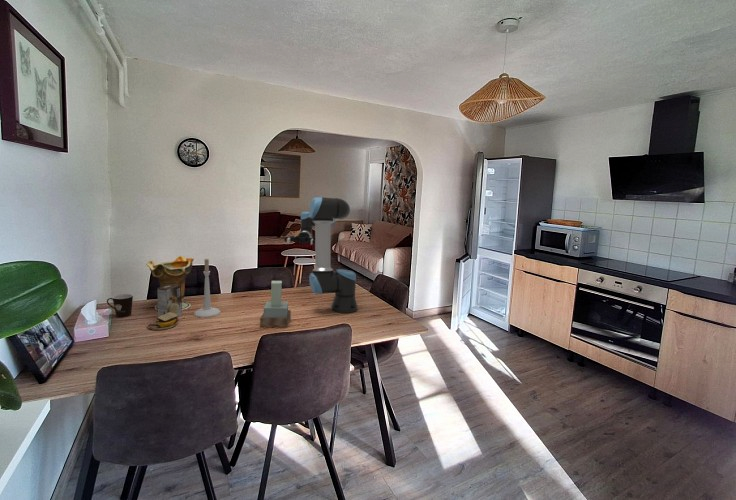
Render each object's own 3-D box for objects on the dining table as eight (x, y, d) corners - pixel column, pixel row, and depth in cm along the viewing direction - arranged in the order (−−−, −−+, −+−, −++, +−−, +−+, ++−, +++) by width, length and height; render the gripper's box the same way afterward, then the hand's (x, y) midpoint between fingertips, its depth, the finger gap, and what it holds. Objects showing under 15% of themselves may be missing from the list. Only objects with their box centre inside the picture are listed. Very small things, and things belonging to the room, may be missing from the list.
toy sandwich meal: (142, 326, 171) (142, 316, 171) (172, 319, 182) (172, 310, 181) (153, 333, 164) (153, 323, 163) (184, 326, 174) (183, 316, 174)
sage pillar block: (281, 303, 186) (281, 280, 184) (281, 306, 181) (281, 283, 179) (271, 303, 185) (271, 280, 183) (270, 306, 180) (271, 283, 178)
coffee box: (172, 313, 189) (172, 283, 187) (182, 315, 187) (181, 285, 185) (157, 318, 181) (156, 287, 178) (167, 320, 179) (166, 289, 176)
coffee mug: (137, 314, 185) (136, 295, 183) (120, 319, 177) (119, 299, 175) (123, 310, 190) (122, 292, 188) (105, 314, 182) (104, 295, 180)
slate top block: (288, 310, 190) (288, 301, 189) (286, 318, 179) (286, 308, 179) (266, 310, 188) (266, 301, 188) (263, 317, 178) (263, 308, 177)
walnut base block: (290, 319, 192) (290, 310, 191) (286, 328, 179) (286, 318, 178) (265, 318, 191) (265, 309, 190) (260, 327, 178) (260, 318, 177)
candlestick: (210, 318, 185) (209, 261, 180) (188, 315, 187) (187, 259, 183) (225, 311, 197) (224, 257, 193) (204, 308, 200) (203, 255, 195)
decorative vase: (138, 308, 192) (139, 256, 189) (175, 300, 213) (176, 253, 210) (166, 315, 185) (167, 261, 182) (202, 306, 206) (203, 257, 203)
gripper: (323, 244, 231) (320, 249, 210) (284, 242, 230) (277, 247, 209) (324, 232, 230) (321, 236, 209) (284, 230, 229) (277, 234, 208)
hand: (299, 241), depth 209 cm, fingers open, 13 cm apart
